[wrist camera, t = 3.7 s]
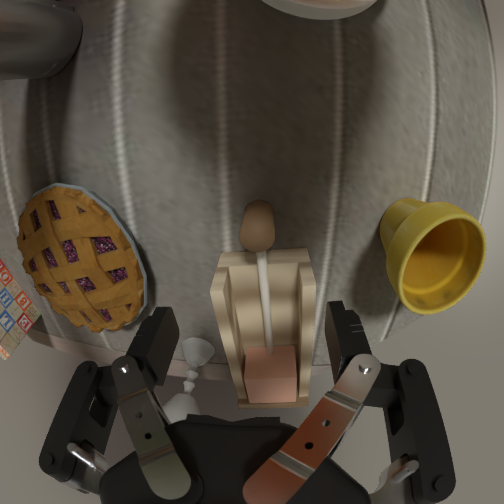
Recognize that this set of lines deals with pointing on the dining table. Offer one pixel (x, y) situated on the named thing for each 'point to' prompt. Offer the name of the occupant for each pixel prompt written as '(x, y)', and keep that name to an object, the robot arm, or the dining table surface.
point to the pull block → (266, 318)
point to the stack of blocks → (13, 313)
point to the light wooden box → (251, 315)
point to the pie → (82, 257)
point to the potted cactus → (321, 8)
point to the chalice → (189, 379)
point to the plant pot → (431, 253)
